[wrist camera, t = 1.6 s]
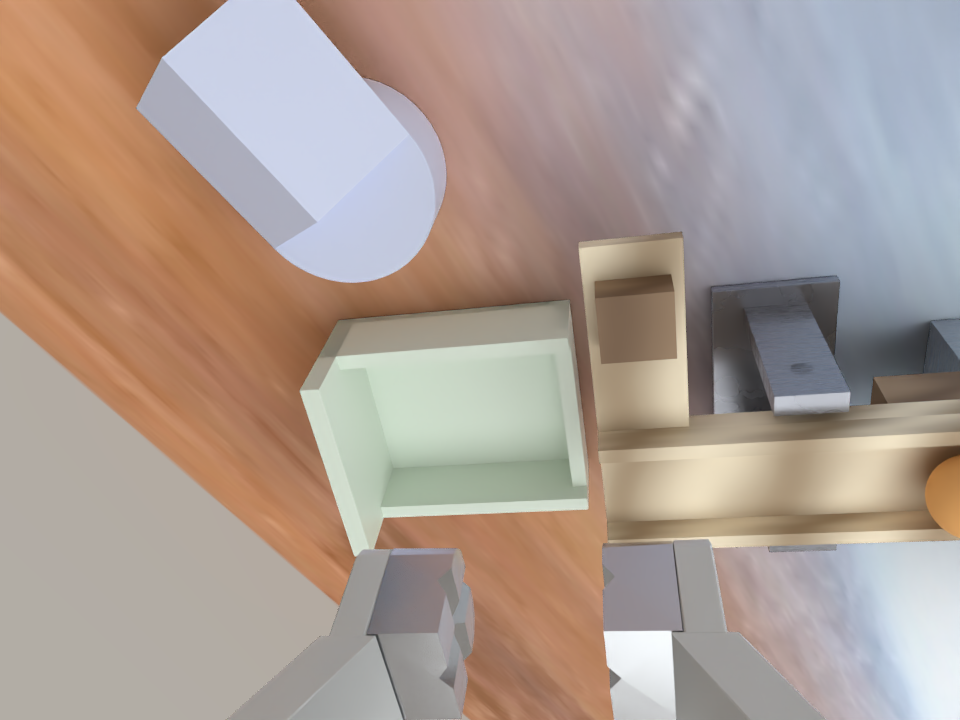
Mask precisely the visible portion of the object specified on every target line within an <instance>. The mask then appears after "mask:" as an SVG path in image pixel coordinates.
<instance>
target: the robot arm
mask: <svg viewBox="0 0 960 720" xmlns="http://www.w3.org/2000/svg"><path fill="white" fill-rule="evenodd" d="M602 565H603V575H604V585H605V588H604V589H603V621H604V638H605V648H606V657H607V666H608V667H609V668H610V692H611V700H612V707H613V715H614V720H826V719H825V718H824V717H823V716H822V715H821V714H820V713H819V712H818V711H817V710H816V709H815V708H814V707H813V706H812V705H811V704H810V703H809V702H808V701H807V700H806V699H805V698H804V697H803V696H802V695H801V694H800V693H799V692H798V691H797V690H796V689H795V688H794V687H793V686H792V685H791V684H790V683H789V682H788V681H787V680H786V679H785V678H784V677H783V676H782V675H781V674H780V673H779V672H778V671H777V670H776V669H775V668H774V667H773V666H772V665H771V664H770V663H769V662H768V661H767V660H766V659H765V658H764V657H763V656H762V655H761V654H760V653H759V652H758V651H757V650H756V649H755V648H754V647H753V646H752V645H751V644H750V643H749V642H748V641H747V640H746V639H745V638H744V637H743V636H742V635H741V634H740V633H739V632H727V627H726V622H725V616H724V610H723V605H722V599H721V594H720V588H719V582H718V577H717V571H716V566H715V560H714V554H713V549H712V544H711V542H710V541H709V539H696V540H673V543H672V541H651V542H626V543H603V547H602ZM464 572H465V564H464V560H463V556H462V552H461V550H459V549H457V548H431V549H363V550H362V551H361V552H360V553H359V555H358V556H357V557H356V559H355V562H354V565H353V568H352V571H351V574H350V576H349V579H348V582H347V585H346V588H345V591H344V594H343V597H342V600H341V603H340V606H339V609H338V611H337V614H336V618H335V620H334V623H333V626H332V629H331V632H330V635H329V636H319V637H318V638H317V639H316V640H315V641H314V642H313V643H312V644H310V645H309V646H308V647H307V648H306V649H305V650H304V651H303V652H302V653H300V654H299V655H298V656H297V657H296V658H295V659H294V660H293V661H292V662H290V663H289V664H288V665H287V666H286V667H285V668H284V669H283V670H281V671H280V672H279V673H278V674H277V675H276V676H275V677H274V678H272V679H271V680H270V681H269V682H268V683H267V684H266V685H265V686H263V687H262V688H261V689H260V690H259V691H258V692H257V693H256V694H255V695H253V696H252V697H251V698H250V699H249V700H248V701H247V702H246V703H244V704H243V705H242V706H241V707H240V708H239V709H238V710H237V711H235V712H234V713H233V714H232V715H231V716H230V717H229V718H228V719H226V720H441V719H443V720H444V719H461V718H462V712H463V706H464V700H465V693H466V687H467V681H468V677H467V673H466V669H465V665H464V660H465V659H466V658H467V657H468V656H469V655H470V654H471V652H472V647H473V640H474V617H475V615H474V605H473V598H472V593H471V589H470V587H468V586H467V585H466V584H465V583H464V582H463V577H464Z"/></svg>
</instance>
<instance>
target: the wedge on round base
mask: <svg viewBox="0 0 960 720" xmlns="http://www.w3.org/2000/svg"><path fill="white" fill-rule="evenodd" d="M136 109H137V110H138V111H139V112H140V113H141V114H142V115H143V116H144V117H145V118H146V119H147V120H148V121H149V122H150V123H151V124H152V125H153V126H154V127H155V128H156V129H157V130H158V131H159V132H160V133H161V134H162V135H163V136H164V137H165V138H166V139H167V140H168V141H169V142H170V143H171V144H172V145H173V146H174V147H175V148H176V149H177V150H178V151H179V152H180V154H181V155H182V156H183V157H184V158H185V159H186V160H187V161H188V162H189V163H190V164H191V165H192V166H193V167H194V168H195V169H196V170H197V171H198V172H199V173H200V174H201V175H202V176H203V177H204V178H205V179H206V180H207V181H208V182H209V183H210V184H211V185H212V186H213V187H214V188H215V189H216V190H217V191H218V192H219V193H220V194H221V195H222V196H223V197H224V198H225V199H226V200H227V201H228V202H229V203H230V204H231V205H232V206H233V207H234V208H235V209H236V210H237V211H238V212H239V213H240V214H241V215H242V216H243V217H244V218H245V219H246V220H247V222H248V223H249V224H250V225H251V226H252V227H253V228H254V229H255V230H256V231H257V232H258V233H259V234H260V235H261V236H262V237H263V238H264V239H265V240H266V241H267V242H268V243H269V244H270V245H271V246H272V247H273V248H274V249H275V250H276V251H277V252H278V253H280V254H281V255H282V256H283V257H284V258H285V259H287V260H288V261H290V262H291V263H292V264H294V265H295V266H297V267H299V268H300V269H302V270H304V271H306V272H308V273H310V274H313V275H315V276H318V277H321V278H324V279H328V280H332V281H338V282H351V283H356V282H367V281H372V280H376V279H380V278H382V277H385V276H388V275H390V274H392V273H394V272H395V271H397V270H399V269H401V268H402V267H403V266H404V265H406V264H407V263H408V262H409V261H410V260H411V259H412V258H413V257H414V256H415V255H416V254H417V253H418V252H419V250H420V249H421V247H422V246H423V245H424V243H425V241H426V239H427V237H428V235H429V233H430V230H431V228H432V226H433V224H434V221H435V219H436V217H437V214H438V212H439V210H440V207H441V204H442V201H443V198H444V194H445V189H446V175H447V172H446V163H445V157H444V153H443V149H442V146H441V144H440V141H439V139H438V136H437V134H436V132H435V131H434V129H433V127H432V125H431V124H430V122H429V121H428V119H427V118H426V117H425V115H424V114H423V113H422V112H421V111H420V110H419V109H418V107H417V106H416V105H415V104H414V103H412V102H411V101H410V100H409V99H408V98H406V97H405V96H404V95H402V94H401V93H399V92H398V91H396V90H394V89H393V88H391V87H389V86H387V85H384V84H382V83H380V82H377V81H374V80H370V79H367V78H362V77H361V76H360V75H359V74H358V73H357V72H356V70H355V69H354V68H353V67H352V66H351V65H350V63H349V62H348V61H347V60H346V59H345V57H344V56H343V55H342V54H341V53H340V52H339V50H338V49H337V48H336V47H335V46H334V45H333V43H332V42H331V41H330V40H329V39H328V37H327V36H326V35H325V34H324V33H323V32H322V30H321V29H320V28H319V27H318V26H317V25H316V23H315V22H314V21H313V20H312V19H311V17H310V16H309V15H308V14H307V13H306V12H305V10H304V9H303V8H302V7H301V6H300V5H299V3H298V2H297V1H296V0H228V1H227V2H226V3H224V4H223V5H222V6H221V7H220V8H219V9H217V10H216V11H215V12H214V13H213V14H212V15H211V16H209V17H208V18H207V19H206V20H205V21H204V22H202V23H201V24H200V25H199V26H198V27H197V28H196V29H194V30H193V31H192V32H191V33H190V34H189V35H188V36H186V37H185V38H184V39H183V40H182V41H181V42H179V43H178V44H177V45H176V46H175V47H174V48H173V49H171V50H170V51H169V52H168V53H167V54H166V55H164V56H163V57H162V58H161V60H160V62H159V64H158V66H157V68H156V70H155V72H154V74H153V76H152V78H151V80H150V82H149V84H148V86H147V88H146V90H145V92H144V94H143V96H142V98H141V99H140V101H139V103H138V105H137V107H136Z"/></svg>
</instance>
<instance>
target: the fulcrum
mask: <svg viewBox="0 0 960 720" xmlns="http://www.w3.org/2000/svg"><path fill="white" fill-rule="evenodd" d="M839 287H840V281H839V279H838V277H837V276H830V277H819V278H808V279H796V280H785V281H774V282H763V283H751V284H740V285H729V286H717V287H711V296H712V369H713V414H725V413H742V412H758V411H772V412H773V415H774V416H787V415H804V414H821V413H838V412H849V405H850V394H851V392H850V390H849V388H848V386H847V384H846V382H845V380H844V378H843V375H842V373H841V371H840V369H839V367H838V365H837V363H836V361H835V359H834V352H835V339H836V326H837V313H838V300H839ZM956 371H960V319H949V320H936V321H931V324H930V331H929V338H928V344H927V351H926V358H925V365H924V372H923V374H926V373H941V372H956ZM836 546H837V544H820V545H788V546H768V549H769V552H791V551H825V550H836Z"/></svg>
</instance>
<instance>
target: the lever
mask: <svg viewBox="0 0 960 720" xmlns="http://www.w3.org/2000/svg"><path fill="white" fill-rule="evenodd" d="M579 257H580V267H581V276H582V286H583V295H584V305H585V314H586V324H587V333H588V343H589V352H590V362H591V371H592V381H593V390H594V400H595V409H596V419H597V428H598V455H599V464H601V468H602V478H603V487H604V497H605V506H606V516H607V534H608V543H626V542H651V541H672V543H673V540H696V539H709V541H710V542H711V544H712V548H723V547H755V546H788V545H820V544H852V543H885V542H917V541H949V540H960V538H958V537H956V536H953V535H952V534H950V533H948V532H947V531H945V530H944V529H943V528H942V527H940V526H939V525H938V524H937V523H936V521H935V520H934V519H933V517H932V516H931V514H930V512H929V510H928V508H927V505H926V500H925V488H926V484H927V480H928V478H929V476H930V475H931V473H932V471H933V470H934V469H935V468H936V467H937V466H938V465H939V464H941V463H942V462H943V461H945V460H947V459H949V458H951V457H954V456H957V455H960V371H956V372H941V373H926V374H911V375H896V376H881V377H873V386H872V395H871V404H870V405H857V406H849V412H838V413H821V414H804V415H787V416H774V415H773V412H772V411H758V412H742V413H725V414H709V415H692V416H689V404H688V374H687V343H686V313H685V282H684V252H683V236H682V232H673V233H663V234H653V235H644V236H634V237H624V238H614V239H604V240H594V241H585V242H579Z"/></svg>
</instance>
